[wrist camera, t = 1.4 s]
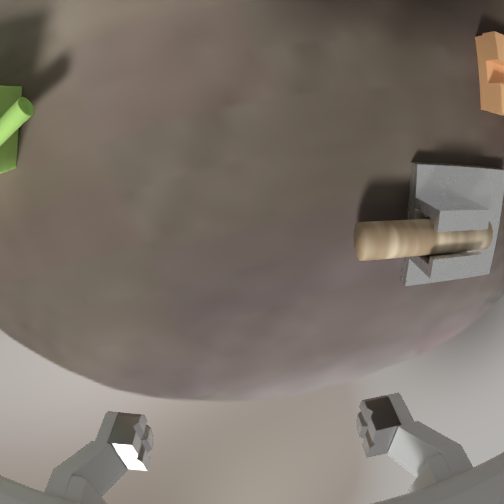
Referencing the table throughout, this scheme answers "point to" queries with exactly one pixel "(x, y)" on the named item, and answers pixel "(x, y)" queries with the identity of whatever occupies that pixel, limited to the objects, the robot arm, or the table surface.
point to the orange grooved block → (491, 71)
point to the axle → (414, 239)
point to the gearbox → (11, 123)
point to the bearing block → (453, 217)
